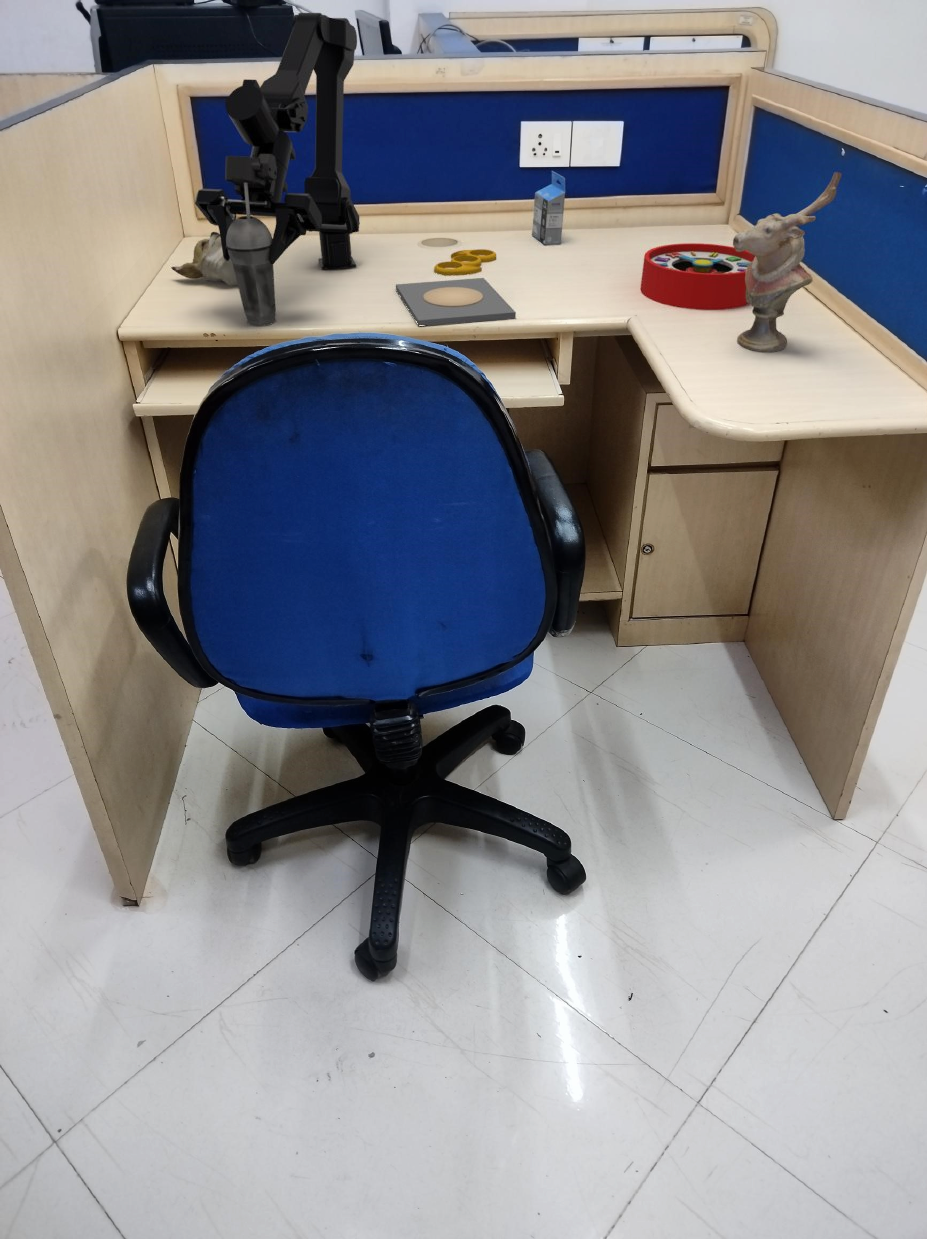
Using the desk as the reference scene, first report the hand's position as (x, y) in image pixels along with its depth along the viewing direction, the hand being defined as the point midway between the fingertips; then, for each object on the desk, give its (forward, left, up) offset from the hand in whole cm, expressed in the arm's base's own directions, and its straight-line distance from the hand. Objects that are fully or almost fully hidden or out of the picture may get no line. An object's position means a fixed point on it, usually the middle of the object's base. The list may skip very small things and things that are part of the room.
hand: (248, 260), depth 129 cm
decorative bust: (+28, +72, -10) cm, 77 cm away
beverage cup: (-1, +1, -10) cm, 10 cm away
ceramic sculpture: (-26, -5, -10) cm, 29 cm away
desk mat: (-2, +33, -10) cm, 34 cm away
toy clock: (+2, +76, -10) cm, 76 cm away
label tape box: (-39, +62, -10) cm, 74 cm away
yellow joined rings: (-25, +41, -10) cm, 49 cm away
